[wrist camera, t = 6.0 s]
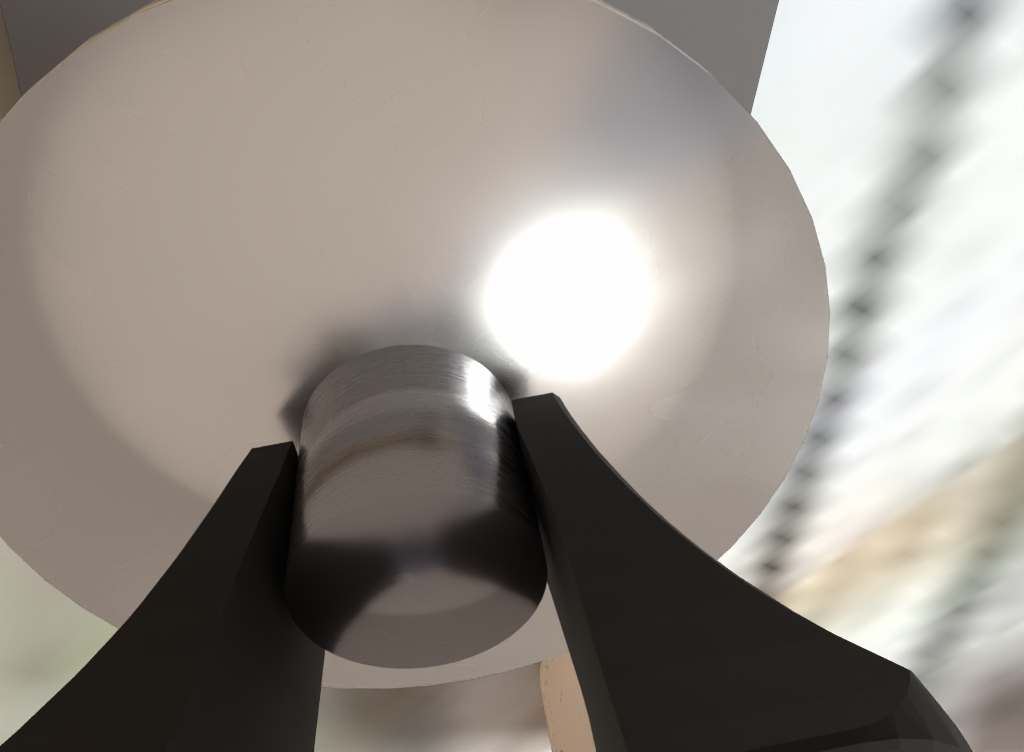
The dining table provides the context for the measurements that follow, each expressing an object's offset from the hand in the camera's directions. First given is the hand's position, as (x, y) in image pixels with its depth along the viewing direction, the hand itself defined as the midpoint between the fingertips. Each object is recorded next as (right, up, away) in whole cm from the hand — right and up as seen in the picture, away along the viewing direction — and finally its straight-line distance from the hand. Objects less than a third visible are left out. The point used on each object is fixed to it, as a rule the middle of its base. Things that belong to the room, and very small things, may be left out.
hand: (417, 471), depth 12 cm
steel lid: (0, +1, +1) cm, 1 cm away
